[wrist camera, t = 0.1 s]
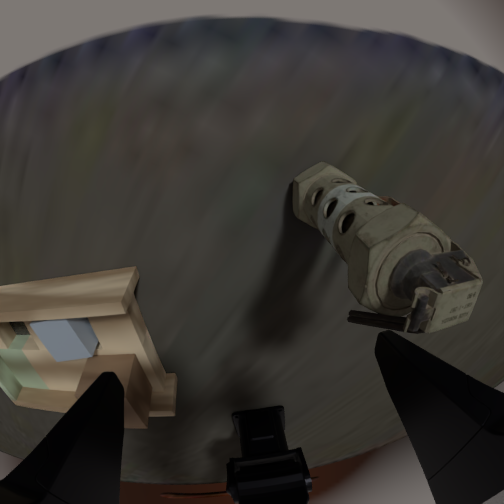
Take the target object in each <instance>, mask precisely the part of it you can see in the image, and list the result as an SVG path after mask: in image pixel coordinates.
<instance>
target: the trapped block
mask: <svg viewBox="0 0 504 504" xmlns="http://www.w3.org/2000/svg"><path fill="white" fill-rule="evenodd" d="M30 326H31V328H32V329H33V330H34V332H35V333H36V335H37V336H38V338H39V339H40V340H41V342H42V343H43V345H44V346H45V347H46V349H47V350H48V351H49V353H50V354H51V355H52V356H53V358H54V359H55V360H56V362H61V361H68V360H75V359H82V358H89V357H92V356H93V354H94V351H95V348H96V346H97V343H98V341H99V340H98V338H97V336H96V334H95V332H94V330H93V328H92V326H91V324H90V322H89V320H88V318H87V317H82V318H69V319H54V320H37V321H32V322H31V323H30Z"/></svg>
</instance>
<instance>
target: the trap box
mask: <svg viewBox="0 0 504 504" xmlns="http://www.w3.org/2000/svg"><path fill="white" fill-rule="evenodd" d="M138 279H139V274H138V270H137V267H136V266H134V267H127V268H121V269H114V270H107V271H100V272H93V273H86V274H79V275H73V276H66V277H59V278H52V279H45V280H38V281H32V282H25V283H18V284H11V285H5V286H0V387H1V388H2V389H3V390H4V392H5V393H6V394H7V395H8V396H9V398H10V399H11V400H12V401H13V402H14V403H15V405H18V406H24V407H29V408H35V409H42V410H48V411H56V412H64V413H66V412H67V411H68V410H69V409H70V408H71V407H72V405H73V404H74V403H75V402H76V401H77V398H76V397H75V396H74V395H75V392H76V389H77V386H78V383H79V380H80V378H81V375H82V372H83V369H84V367H85V364H86V361H87V359H88V358H82V359H75V360H68V361H61V362H56V360H55V359H54V358H53V356H52V355H51V354H50V353H49V351H48V350H47V349H46V347H45V346H44V345H43V343H42V342H41V340H40V339H39V338H38V336H37V335H36V333H35V332H34V330H33V329H32V328H31V326H30V323H31V322H32V321H37V320H54V319H69V318H82V317H87V318H88V320H89V322H90V324H91V326H92V328H93V330H94V332H95V334H96V336H97V338H98V340H99V341H98V343H97V346H96V348H95V351H94V354H93V355H115V354H134V353H135V354H136V356H137V358H138V360H139V362H140V364H141V366H142V368H143V370H144V372H145V374H146V376H147V378H148V380H149V382H150V384H151V386H152V395H151V402H150V410H149V417H163V416H175V409H176V393H177V376H176V374H175V373H166V372H165V370H164V368H163V366H162V363H161V361H160V359H159V356H158V354H157V352H156V349H155V347H154V345H153V342H152V340H151V337H150V335H149V332H148V330H147V327H146V325H145V322H144V320H143V317H142V314H141V312H140V309H139V306H138V304H137V301H136V298H135V295H134V290H135V287H136V284H137V282H138ZM17 321H23V322H24V323H25V325H26V327H27V329H28V330H29V332H30V334H31V335H16V333H15V332H14V330H13V328H12V326H11V325H10V323H9V322H17Z"/></svg>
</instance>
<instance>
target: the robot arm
mask: <svg viewBox="0 0 504 504" xmlns="http://www.w3.org/2000/svg"><path fill="white" fill-rule="evenodd" d="M375 356H376V359H377V362H378V365H379V367H380V370H381V373H382V376H383V379H384V382H385V385H386V388H387V390H388V392H389V395H390V397H391V399H392V401H393V403H394V405H395V408H396V410H397V412H398V414H399V416H400V418H401V421H402V423H403V425H404V427H405V429H406V432H407V434H408V436H409V438H410V441H411V443H412V445H413V448H414V450H415V452H416V455H417V457H418V459H419V462H420V464H421V467H422V469H423V471H424V474H425V476H426V479H427V480H428V484H429V487H430V489H431V492H432V495H433V497H434V500H435V502H436V504H504V393H503V392H500V391H498V390H496V389H494V388H492V387H490V386H488V385H485V384H484V383H482V382H480V381H478V380H476V379H474V378H473V377H471V376H469V375H466V374H465V373H464V372H462V371H460V370H459V369H457V368H455V367H453V366H452V365H450V364H448V363H446V362H445V361H443V360H441V359H440V358H438V357H436V356H434V355H433V354H431V353H429V352H427V351H426V350H424V349H422V348H420V347H419V346H417V345H415V344H414V343H412V342H410V341H408V340H407V339H405V338H403V337H401V336H400V335H398V334H396V333H394V332H393V331H391V330H387V331H383V332H380V333H379V334H378V337H377V341H376V345H375ZM232 417H233V421H234V424H235V427H236V430H237V433H238V436H239V437H240V443H241V451H242V458H230V462H229V463H227V464H226V465H227V486H226V491H227V493H228V494H230V495H231V496H232V498H233V500H234V503H239V504H308V502H309V494H308V492H311V491H312V483H311V478H310V474H309V470H308V467H307V464H306V461H305V458H304V455H303V452H302V449H301V447H299V448H296V449H292V450H288V446H287V442H286V437H285V433H284V430H285V416H284V407H283V406H276V407H271V408H265V409H258V410H251V411H244V412H236V413H233V414H232ZM123 437H124V387H123V385H122V383H121V382H120V380H119V378H118V377H117V375H116V374H115V373H114V372H113V371H105V372H102V373H101V374H100V375H99V376H98V378H97V379H96V380H95V381H94V382H93V383H92V384H91V385H90V386H89V387H88V389H87V390H86V391H85V392H84V393H83V394H82V395H81V396H80V398H79V399H78V400H77V401H76V402H75V403H74V404H73V405H72V407H71V408H70V409H69V410H68V411H67V412H66V413H65V414H64V416H63V417H62V418H61V419H60V420H59V421H58V422H57V424H56V425H55V426H54V427H53V428H52V429H51V430H50V432H49V433H48V434H47V435H46V437H44V438H43V440H42V441H41V442H40V443H39V444H38V445H37V446H36V448H35V449H34V450H33V451H32V452H31V453H30V454H29V455H28V456H27V457H26V458H25V459H24V460H23V461H22V462H21V463H20V464H19V465H18V466H17V467H16V468H15V469H14V470H13V471H11V472H10V473H9V474H8V476H6V477H5V478H4V479H2V480H0V504H119V494H120V474H121V459H122V447H123Z"/></svg>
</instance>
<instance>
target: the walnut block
mask: <svg viewBox="0 0 504 504" xmlns="http://www.w3.org/2000/svg"><path fill="white" fill-rule="evenodd" d="M105 371H113V372H114V373H115V374H116V375H117V377H118V378H119V380H120V382H121V383H122V385H123V387H124V428H139V429H147V427H148V418H149V410H150V402H151V395H152V386H151V384H150V382H149V380H148V378H147V376H146V374H145V372H144V370H143V368H142V366H141V364H140V362H139V360H138V358H137V356H136V354H135V353H134V354H115V355H93V356H92V357H89V358H88V359H87V361H86V364H85V367H84V369H83V372H82V375H81V378H80V380H79V383H78V386H77V389H76V392H75V395H74V396H75V397H76V398H77V400H78V399H79V398H80V396H81V395H82V394H83V393H84V392H85V391H86V390H87V389H88V387H89V386H90V385H91V384H92V383H93V382H94V381H95V380H96V379H97V378H98V376H99V375H100V374H101V373H102V372H105Z"/></svg>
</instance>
